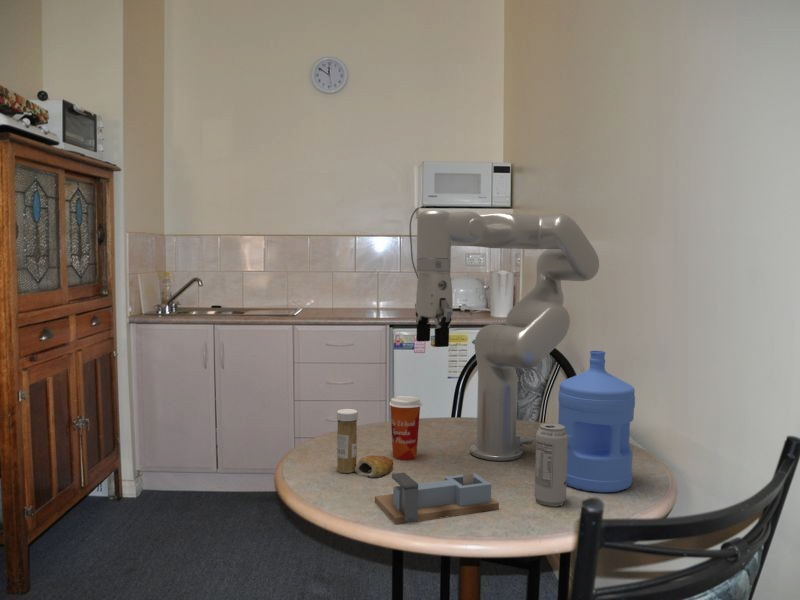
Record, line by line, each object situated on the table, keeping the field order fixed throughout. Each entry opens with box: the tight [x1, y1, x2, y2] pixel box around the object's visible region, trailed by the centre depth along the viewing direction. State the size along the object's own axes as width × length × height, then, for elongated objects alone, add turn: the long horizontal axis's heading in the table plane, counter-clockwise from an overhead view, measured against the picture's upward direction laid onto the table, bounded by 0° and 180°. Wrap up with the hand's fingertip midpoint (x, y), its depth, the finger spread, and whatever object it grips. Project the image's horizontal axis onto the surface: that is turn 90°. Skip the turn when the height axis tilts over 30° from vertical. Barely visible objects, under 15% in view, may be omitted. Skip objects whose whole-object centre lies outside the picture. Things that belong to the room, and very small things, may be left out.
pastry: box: [354, 454, 395, 478], centre depth 142 cm, size 9×7×4 cm
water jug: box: [557, 350, 636, 493], centre depth 136 cm, size 16×16×28 cm
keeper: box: [391, 472, 419, 524], centre depth 117 cm, size 2×7×7 cm, turn 22°
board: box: [374, 471, 500, 525], centre depth 122 cm, size 21×11×6 cm, turn 112°
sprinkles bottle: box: [336, 408, 359, 474], centre depth 141 cm, size 5×5×14 cm
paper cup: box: [388, 395, 423, 461], centre depth 152 cm, size 8×8×14 cm
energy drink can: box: [534, 422, 568, 507], centre depth 124 cm, size 6×6×15 cm
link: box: [392, 472, 492, 511], centre depth 120 cm, size 18×7×4 cm, turn 112°
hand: (432, 343), depth 142 cm, fingers open, 9 cm apart
